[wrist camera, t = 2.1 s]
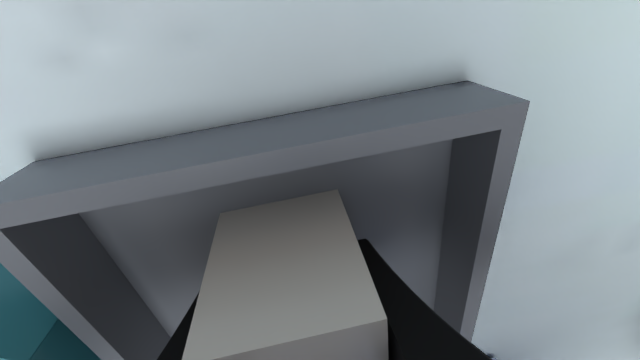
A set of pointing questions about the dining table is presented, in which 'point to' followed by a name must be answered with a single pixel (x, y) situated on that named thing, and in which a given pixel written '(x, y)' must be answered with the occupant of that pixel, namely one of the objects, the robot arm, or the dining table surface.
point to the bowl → (33, 327)
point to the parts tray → (257, 189)
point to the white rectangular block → (287, 287)
